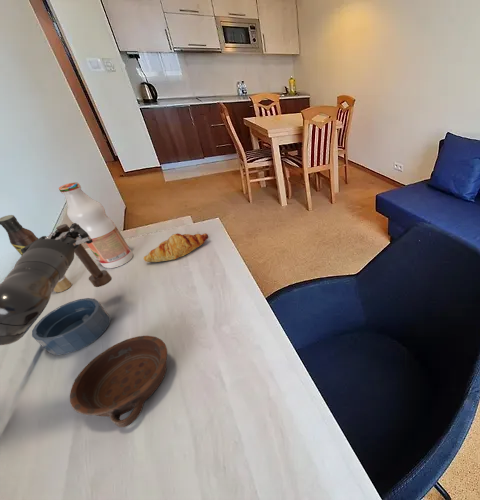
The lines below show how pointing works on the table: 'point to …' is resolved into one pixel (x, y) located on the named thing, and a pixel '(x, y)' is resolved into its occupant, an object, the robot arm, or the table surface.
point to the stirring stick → (89, 263)
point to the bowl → (71, 326)
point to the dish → (120, 379)
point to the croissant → (176, 247)
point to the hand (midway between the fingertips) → (70, 228)
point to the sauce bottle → (17, 233)
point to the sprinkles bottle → (62, 285)
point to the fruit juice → (96, 227)
